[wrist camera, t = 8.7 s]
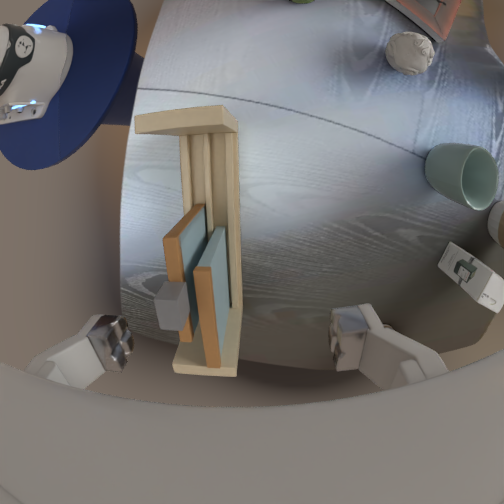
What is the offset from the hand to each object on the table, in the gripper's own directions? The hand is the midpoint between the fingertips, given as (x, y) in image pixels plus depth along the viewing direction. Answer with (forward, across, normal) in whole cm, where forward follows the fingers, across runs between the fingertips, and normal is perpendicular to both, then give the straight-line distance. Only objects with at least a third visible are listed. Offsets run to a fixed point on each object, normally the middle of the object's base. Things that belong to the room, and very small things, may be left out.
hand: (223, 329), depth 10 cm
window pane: (+24, +6, +5) cm, 26 cm away
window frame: (+26, +5, +3) cm, 27 cm away
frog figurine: (+26, -22, -19) cm, 39 cm away
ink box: (+26, -34, +12) cm, 45 cm away
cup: (+26, -28, -4) cm, 38 cm away
